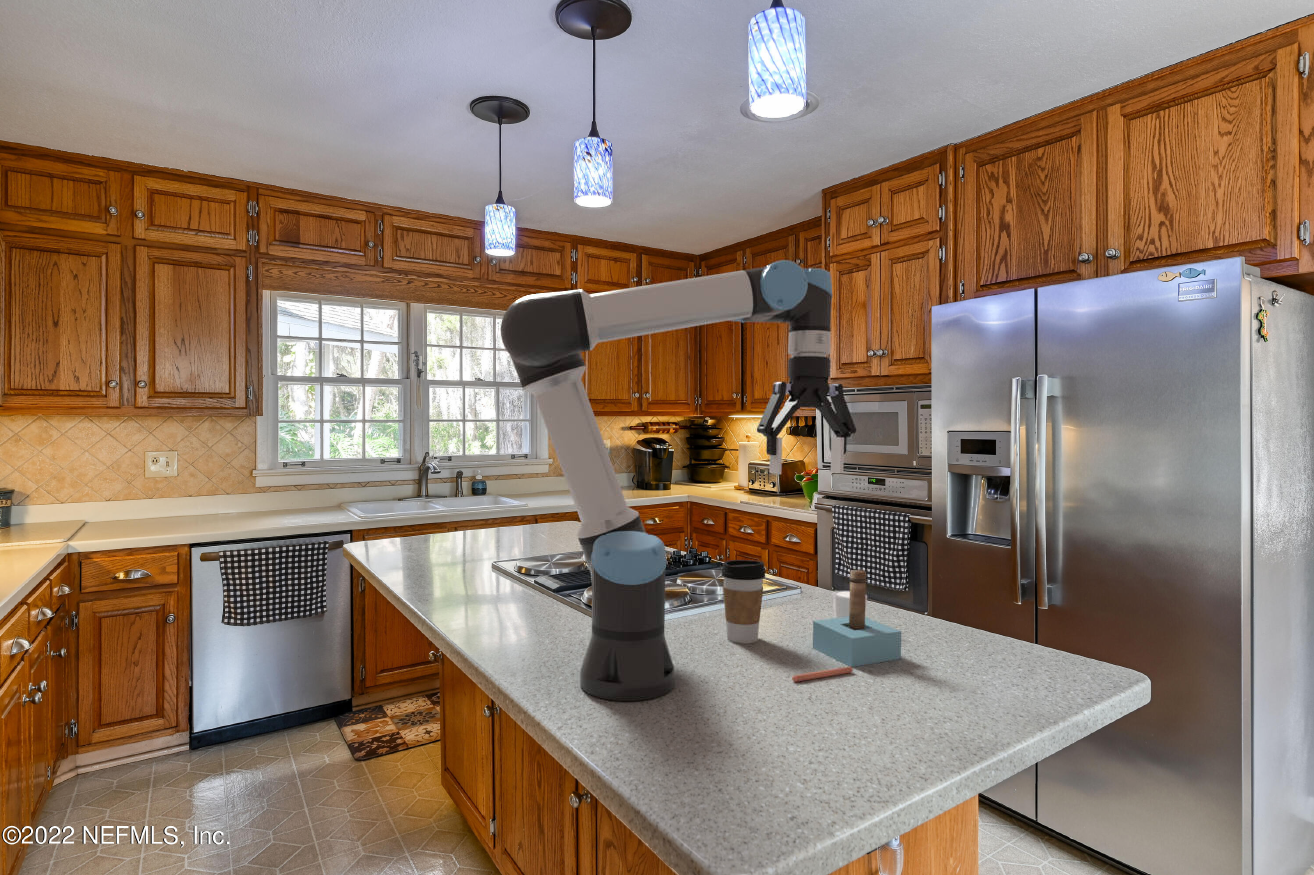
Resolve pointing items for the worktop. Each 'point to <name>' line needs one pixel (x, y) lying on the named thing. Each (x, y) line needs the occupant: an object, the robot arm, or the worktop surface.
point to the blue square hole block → (856, 641)
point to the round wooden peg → (857, 599)
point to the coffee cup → (743, 599)
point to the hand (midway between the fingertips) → (806, 473)
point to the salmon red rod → (822, 674)
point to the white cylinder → (842, 603)
